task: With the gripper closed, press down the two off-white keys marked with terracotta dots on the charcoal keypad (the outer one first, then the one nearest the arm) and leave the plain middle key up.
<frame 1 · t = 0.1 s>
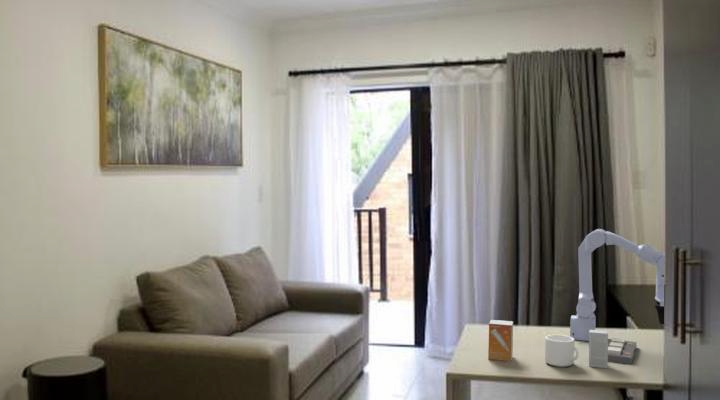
hand: (663, 321, 241), 10 cm above the table, tool pointing down, fingers open, 7 cm apart
key outer: (614, 352, 228), point 2 cm above the table, slide at 0.0 cm
keypad frame: (616, 353, 234), on the table
key inner: (618, 342, 241), point 2 cm above the table, slide at 0.0 cm
skincare box: (597, 366, 220), on the table
small box: (500, 358, 228), on the table
mug: (562, 365, 221), on the table
key middle: (616, 347, 234), point 2 cm above the table, slide at 0.0 cm
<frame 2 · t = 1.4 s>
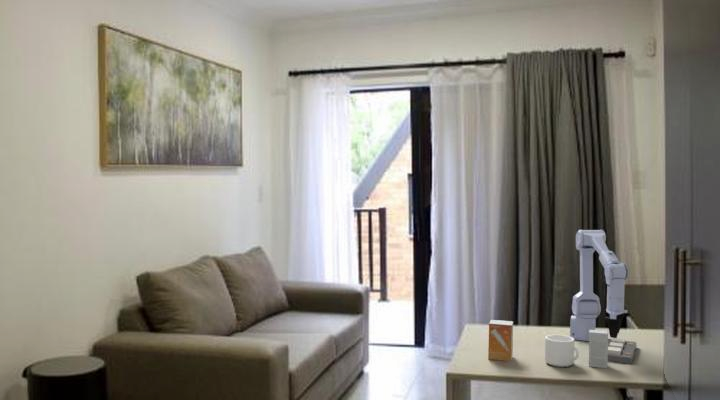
hand: (614, 335, 228), 8 cm above the table, tool pointing down, fingers open, 7 cm apart
nothing on the table moved.
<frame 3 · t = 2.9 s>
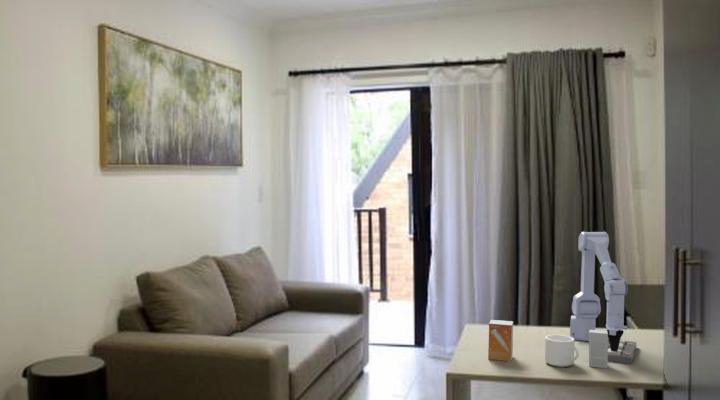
hand: (614, 350, 228), 3 cm above the table, tool pointing down, fingers closed, pressing on key outer
key outer: (614, 353, 228), point 2 cm above the table, slide at 0.6 cm, touching gripper
everything else where it was.
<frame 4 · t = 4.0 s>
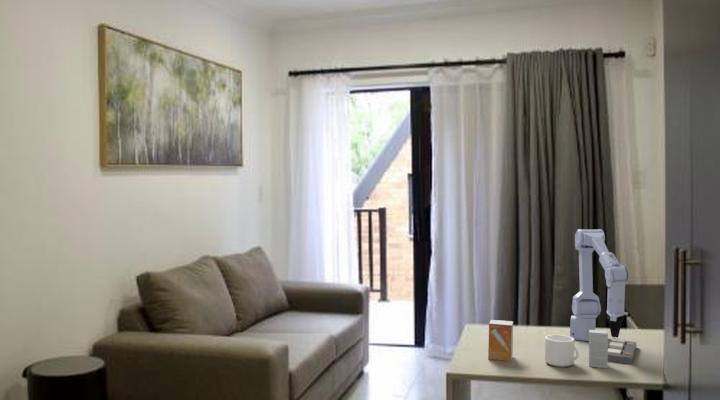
hand: (614, 336, 230), 7 cm above the table, tool pointing down, fingers closed
key outer: (614, 353, 228), point 2 cm above the table, slide at 0.6 cm
everything else where it was.
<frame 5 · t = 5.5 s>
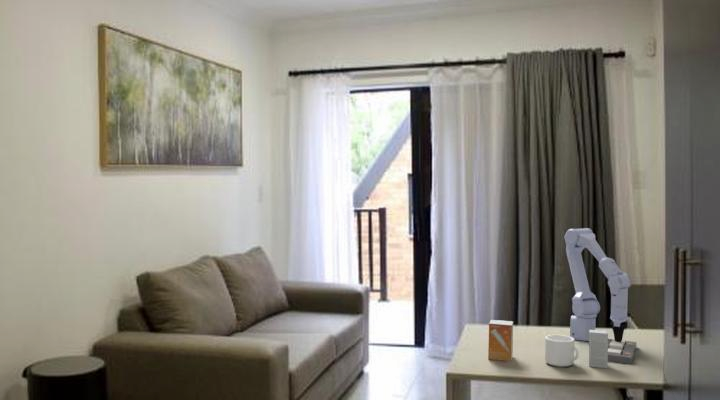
hand: (618, 341, 241), 3 cm above the table, tool pointing down, fingers closed, pressing on key inner
key inner: (618, 344, 241), point 2 cm above the table, slide at 0.6 cm, touching gripper
everything else where it was.
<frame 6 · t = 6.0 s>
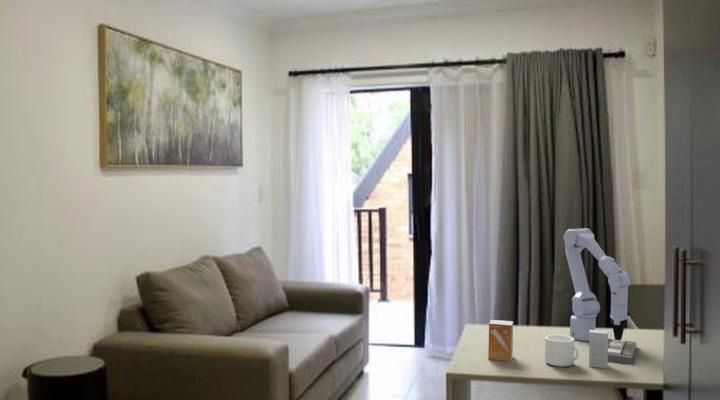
hand: (618, 339, 241), 3 cm above the table, tool pointing down, fingers closed
key inner: (618, 344, 241), point 2 cm above the table, slide at 0.6 cm
everything else where it was.
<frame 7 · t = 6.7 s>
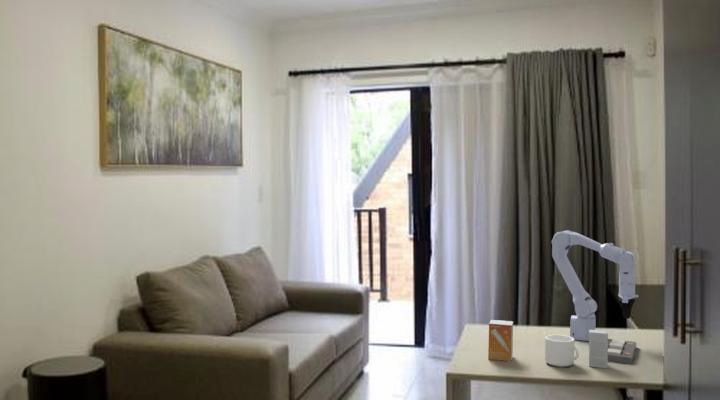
hand: (626, 318, 245), 10 cm above the table, tool pointing down, fingers closed
nothing on the table moved.
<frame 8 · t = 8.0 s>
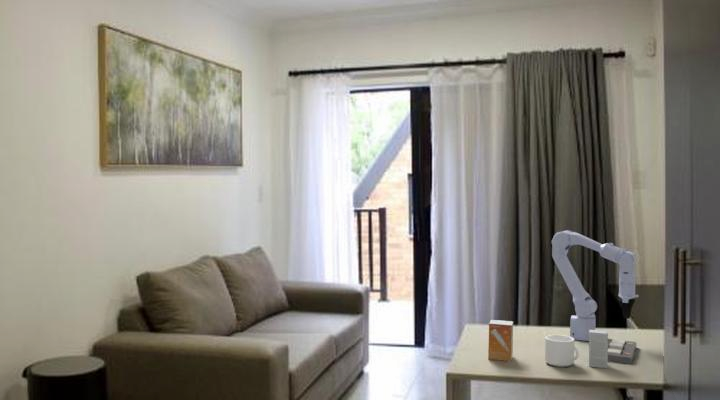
hand: (626, 318, 245), 10 cm above the table, tool pointing down, fingers closed
nothing on the table moved.
at the end: key outer slide at 0.6 cm; key inner slide at 0.6 cm; key middle slide at 0.0 cm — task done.
